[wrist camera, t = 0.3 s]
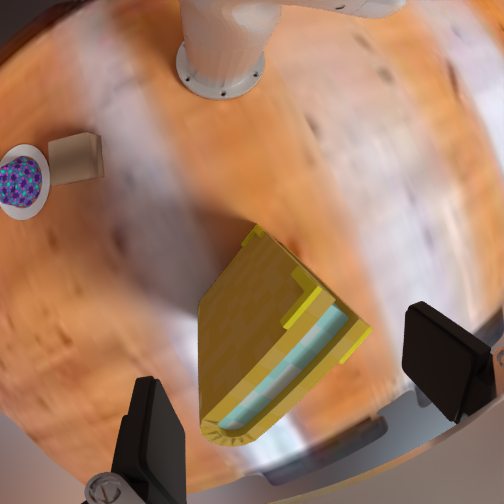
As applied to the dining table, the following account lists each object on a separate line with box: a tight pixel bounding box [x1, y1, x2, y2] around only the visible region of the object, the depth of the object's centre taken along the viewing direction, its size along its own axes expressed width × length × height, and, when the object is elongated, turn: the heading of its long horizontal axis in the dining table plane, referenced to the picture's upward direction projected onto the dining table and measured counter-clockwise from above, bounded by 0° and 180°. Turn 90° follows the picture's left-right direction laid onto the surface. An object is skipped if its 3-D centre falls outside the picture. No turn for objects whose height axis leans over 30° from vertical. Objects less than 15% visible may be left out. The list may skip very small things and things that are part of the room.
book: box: [198, 224, 373, 447], centre depth 35 cm, size 17×7×25 cm, turn 141°
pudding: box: [0, 144, 50, 220], centre depth 35 cm, size 12×12×5 cm
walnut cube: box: [48, 132, 104, 186], centre depth 36 cm, size 6×6×6 cm
